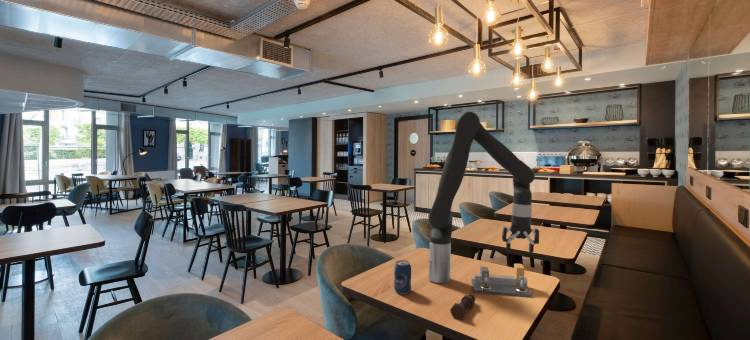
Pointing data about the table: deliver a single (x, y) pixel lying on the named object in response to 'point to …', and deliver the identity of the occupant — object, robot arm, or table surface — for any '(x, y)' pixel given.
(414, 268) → the table surface
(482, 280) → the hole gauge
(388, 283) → the table surface
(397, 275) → the soda can
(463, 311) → the dark brown lobed piece
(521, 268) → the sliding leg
